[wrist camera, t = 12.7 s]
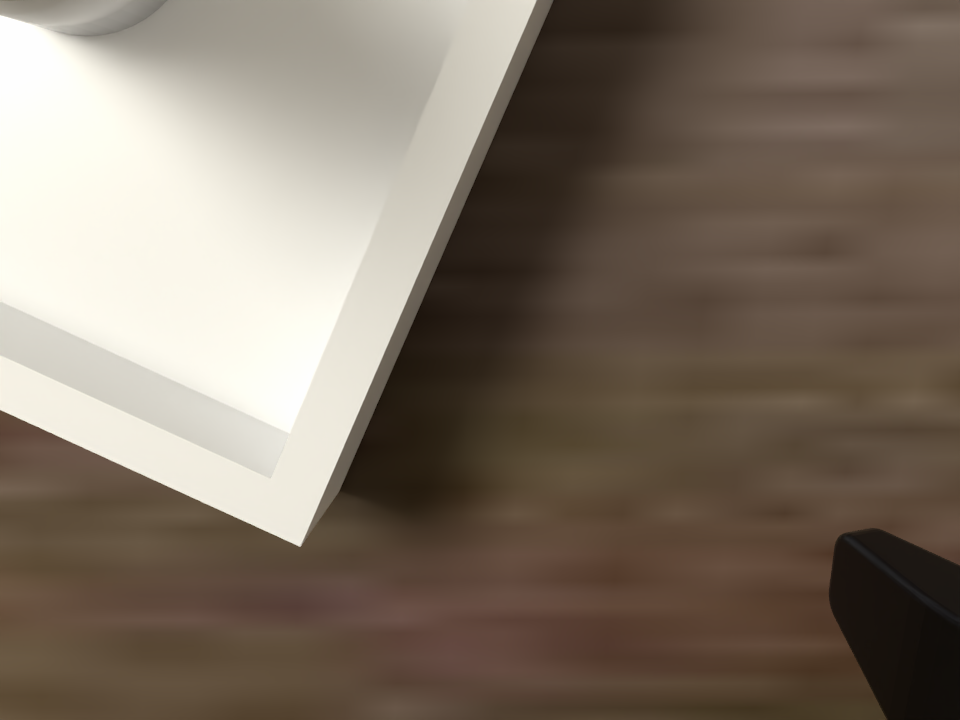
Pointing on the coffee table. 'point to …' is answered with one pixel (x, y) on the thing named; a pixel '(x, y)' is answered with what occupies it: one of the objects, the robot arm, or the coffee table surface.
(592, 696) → the coffee table surface
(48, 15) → the white light bulb
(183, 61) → the parts tray
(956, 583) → the robot arm
